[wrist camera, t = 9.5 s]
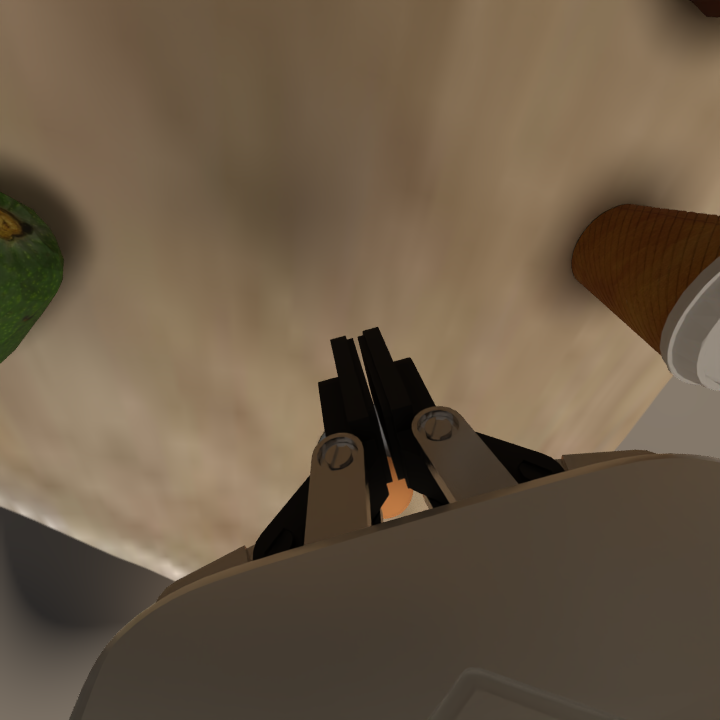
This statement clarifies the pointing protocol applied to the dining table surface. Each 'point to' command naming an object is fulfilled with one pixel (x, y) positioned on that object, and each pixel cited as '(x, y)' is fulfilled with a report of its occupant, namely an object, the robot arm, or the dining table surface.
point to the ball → (396, 495)
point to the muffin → (708, 7)
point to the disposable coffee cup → (659, 282)
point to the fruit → (24, 271)
